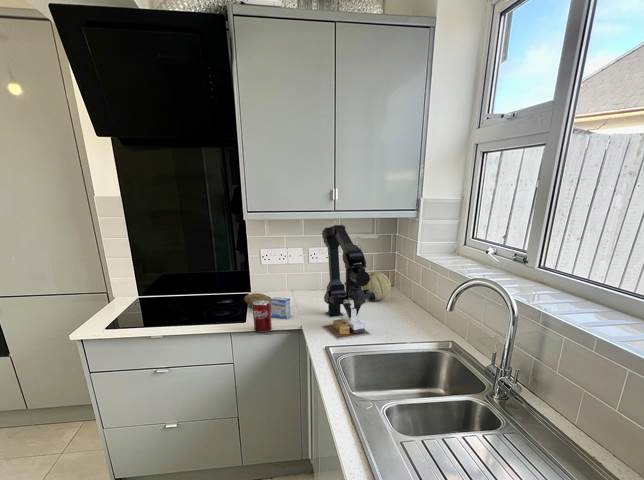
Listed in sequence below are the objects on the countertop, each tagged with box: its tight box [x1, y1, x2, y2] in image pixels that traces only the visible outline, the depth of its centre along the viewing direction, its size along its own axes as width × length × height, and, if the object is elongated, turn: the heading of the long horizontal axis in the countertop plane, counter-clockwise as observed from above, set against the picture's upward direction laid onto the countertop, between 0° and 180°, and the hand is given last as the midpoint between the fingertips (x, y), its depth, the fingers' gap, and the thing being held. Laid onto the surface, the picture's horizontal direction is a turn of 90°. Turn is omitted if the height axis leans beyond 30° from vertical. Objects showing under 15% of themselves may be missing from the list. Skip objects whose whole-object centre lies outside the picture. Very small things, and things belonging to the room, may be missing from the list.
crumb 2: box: [339, 324, 349, 334], centre depth 167 cm, size 4×4×3 cm
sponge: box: [244, 292, 273, 309], centre depth 200 cm, size 13×8×20 cm
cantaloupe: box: [361, 271, 392, 302], centre depth 211 cm, size 15×15×15 cm
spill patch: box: [323, 324, 370, 339], centre depth 171 cm, size 16×14×1 cm
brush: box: [340, 307, 366, 333], centre depth 170 cm, size 13×5×8 cm, turn 23°
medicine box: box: [271, 296, 291, 319], centre depth 187 cm, size 8×4×9 cm, turn 71°
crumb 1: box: [332, 318, 346, 330], centre depth 172 cm, size 4×4×3 cm
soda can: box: [251, 301, 273, 333], centre depth 169 cm, size 7×7×12 cm
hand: (352, 317), depth 170 cm, fingers closed on brush, 2 cm apart
